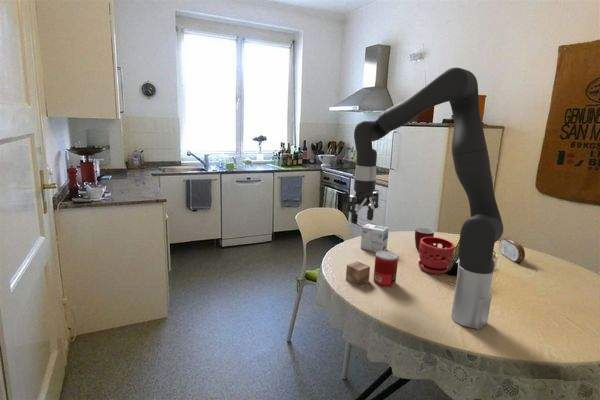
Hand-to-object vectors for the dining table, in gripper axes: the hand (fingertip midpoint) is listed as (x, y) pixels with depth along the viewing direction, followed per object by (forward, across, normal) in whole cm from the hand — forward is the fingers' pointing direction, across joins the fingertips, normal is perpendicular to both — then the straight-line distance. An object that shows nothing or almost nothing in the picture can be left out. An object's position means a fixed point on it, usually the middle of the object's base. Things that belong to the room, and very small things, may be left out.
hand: (362, 221), depth 131 cm
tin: (+22, +70, -27) cm, 79 cm away
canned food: (+22, +4, -9) cm, 24 cm away
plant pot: (+22, +30, -14) cm, 40 cm away
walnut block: (+22, -3, -2) cm, 22 cm away
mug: (+22, +45, +2) cm, 50 cm away
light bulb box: (+22, +28, +15) cm, 39 cm away
